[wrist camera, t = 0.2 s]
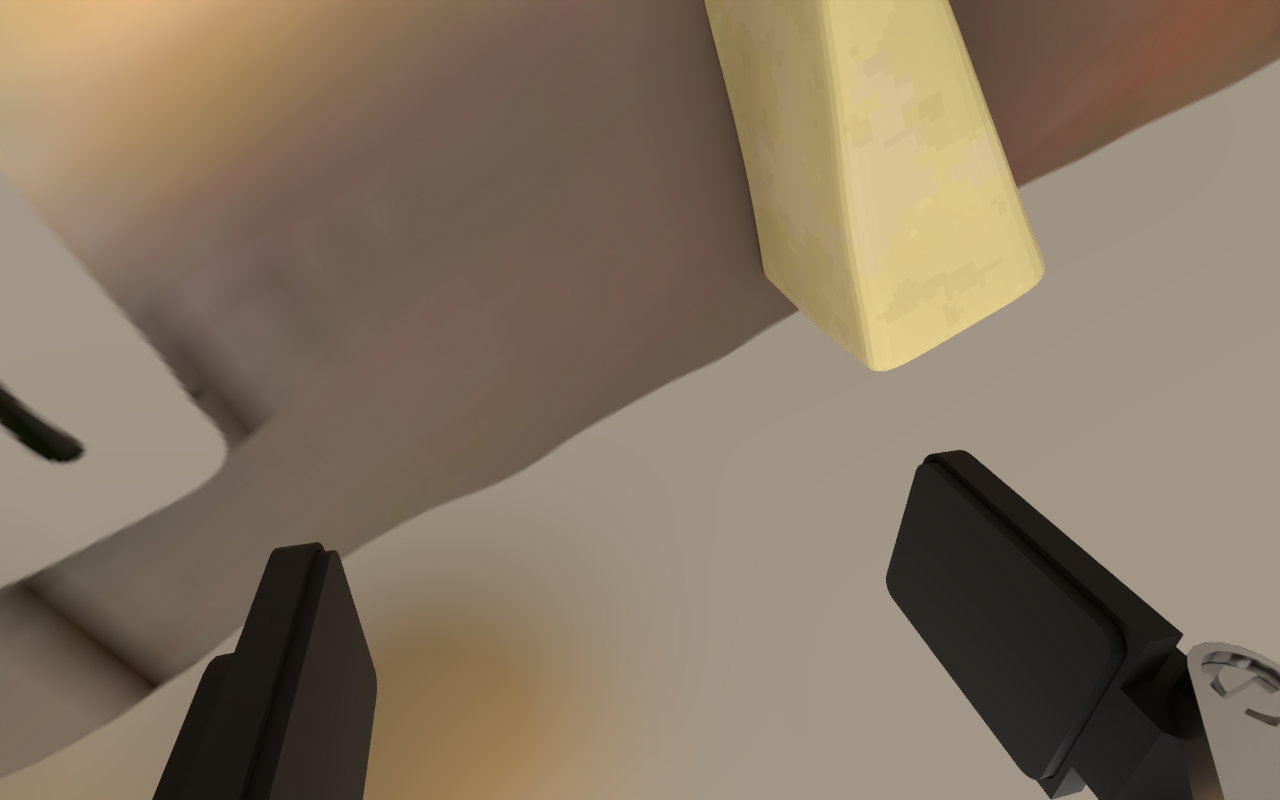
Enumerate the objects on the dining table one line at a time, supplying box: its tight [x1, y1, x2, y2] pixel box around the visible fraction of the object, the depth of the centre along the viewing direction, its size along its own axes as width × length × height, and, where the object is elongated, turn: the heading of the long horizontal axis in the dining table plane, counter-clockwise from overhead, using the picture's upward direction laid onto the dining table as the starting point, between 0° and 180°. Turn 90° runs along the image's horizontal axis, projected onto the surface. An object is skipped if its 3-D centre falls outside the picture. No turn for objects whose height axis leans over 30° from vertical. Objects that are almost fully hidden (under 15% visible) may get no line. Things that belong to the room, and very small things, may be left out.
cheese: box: [704, 0, 1045, 371], centre depth 31 cm, size 22×10×15 cm, turn 28°
